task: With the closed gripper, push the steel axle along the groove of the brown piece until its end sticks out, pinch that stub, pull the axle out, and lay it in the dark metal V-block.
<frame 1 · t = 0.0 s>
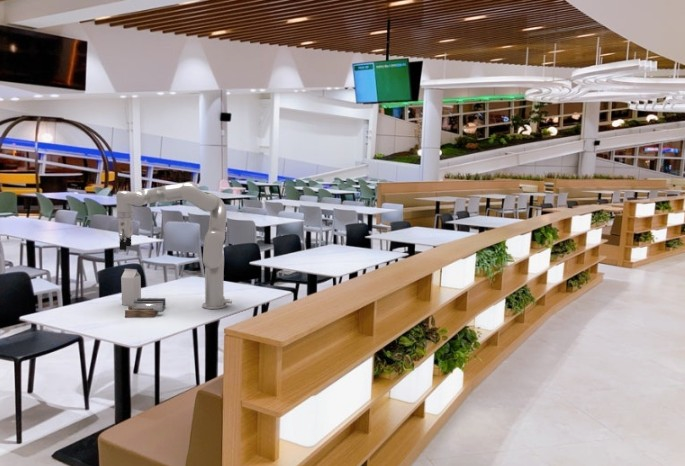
hand: (125, 247, 300), 31 cm above the table, tool pointing down, fingers open, 9 cm apart
v block: (150, 309, 300), on the table
milk carton: (131, 304, 309), on the table
brown piece: (141, 315, 290), on the table
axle: (147, 311, 290), point 2 cm above the table, touching brown piece
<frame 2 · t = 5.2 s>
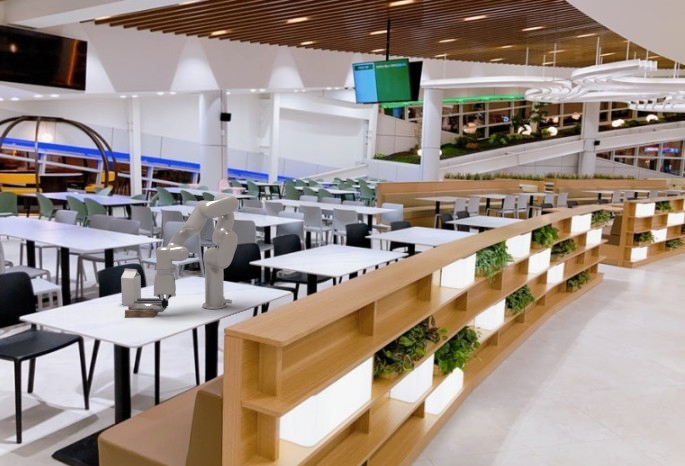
hand: (165, 307, 290), 4 cm above the table, tool pointing down, fingers closed
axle: (147, 311, 290), point 2 cm above the table, touching brown piece, gripper
everything else where it was.
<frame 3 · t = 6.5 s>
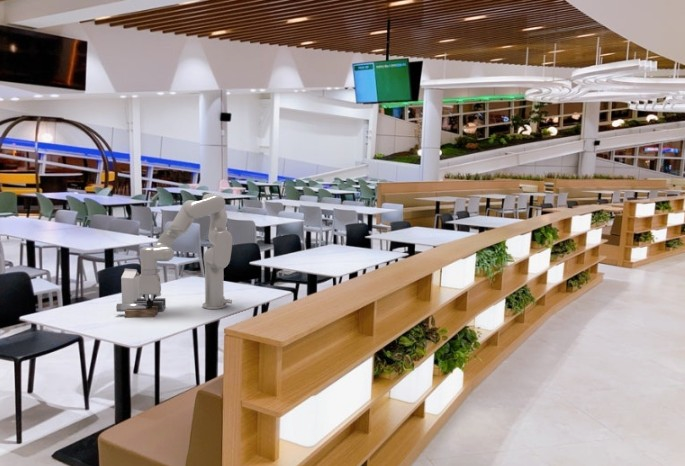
hand: (150, 307, 290), 4 cm above the table, tool pointing down, fingers closed
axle: (132, 311, 289), point 2 cm above the table, touching brown piece, gripper
everything else where it was.
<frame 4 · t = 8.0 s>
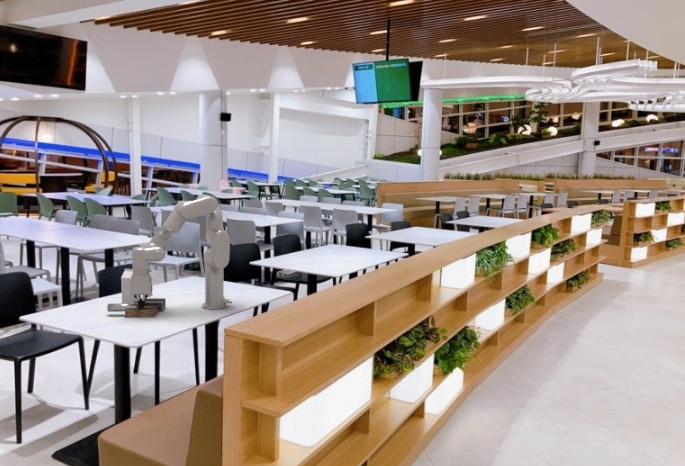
hand: (141, 307, 289), 4 cm above the table, tool pointing down, fingers closed
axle: (123, 311, 289), point 2 cm above the table, touching brown piece, gripper
everything else where it was.
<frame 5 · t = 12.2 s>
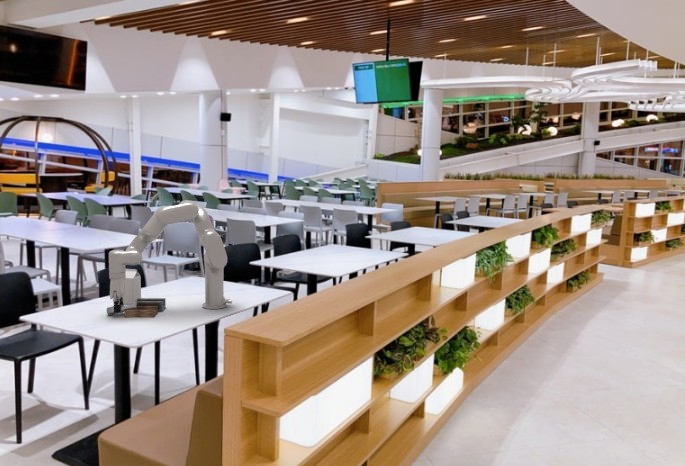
hand: (118, 310, 288), 2 cm above the table, tool pointing down, fingers closed on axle, 4 cm apart
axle: (123, 312, 289), point 2 cm above the table, tilted 13°, touching gripper
everything else where it was.
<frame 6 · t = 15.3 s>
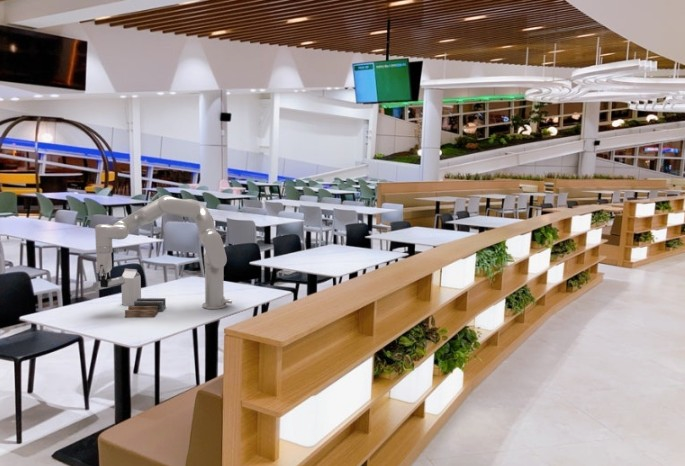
hand: (105, 285, 286), 15 cm above the table, tool pointing down, fingers closed on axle, 4 cm apart
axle: (110, 287, 286), point 14 cm above the table, tilted 13°, touching gripper
everything else where it was.
when the fingers open (6 cm above the table, at t = 18.6 s): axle stays where it is, resting on v block.
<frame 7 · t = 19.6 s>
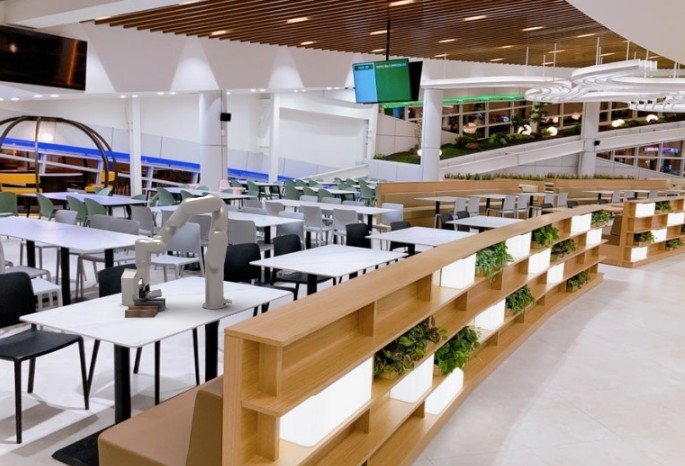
hand: (144, 295, 298), 7 cm above the table, tool pointing down, fingers open, 9 cm apart
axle: (148, 299, 299), point 5 cm above the table, tilted 12°, touching v block
everything else where it was.
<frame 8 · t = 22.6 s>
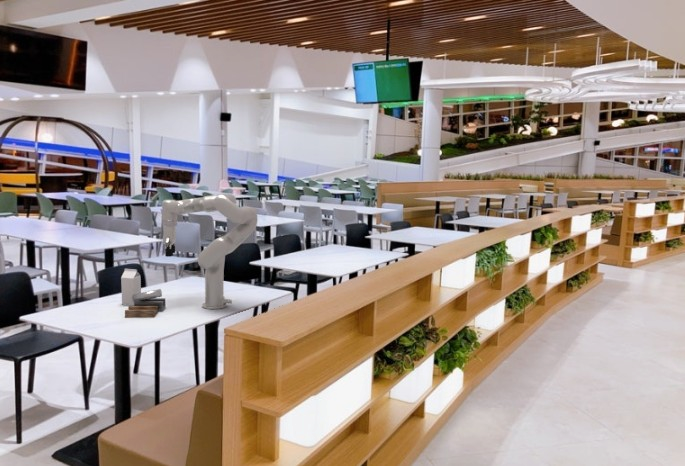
hand: (170, 254, 311), 26 cm above the table, tool pointing down, fingers open, 9 cm apart
nothing on the table moved.
at the end: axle inside the target area on the v block (1.0 cm from its centre), point 5.5 cm above the v block's base; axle touching v block; the gripper is holding nothing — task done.
